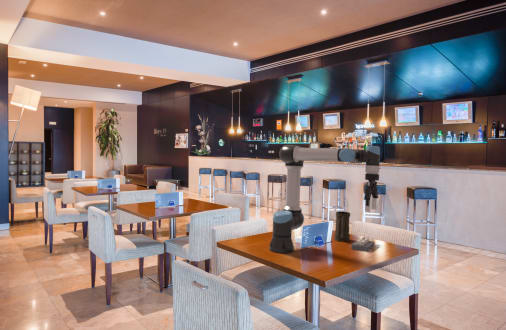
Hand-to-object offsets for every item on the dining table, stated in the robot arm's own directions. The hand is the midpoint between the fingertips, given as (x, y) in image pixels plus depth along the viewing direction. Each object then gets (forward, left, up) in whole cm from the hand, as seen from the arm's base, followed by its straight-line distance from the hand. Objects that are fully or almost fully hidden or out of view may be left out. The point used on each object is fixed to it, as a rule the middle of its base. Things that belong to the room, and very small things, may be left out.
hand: (370, 210), depth 201 cm
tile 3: (-10, +32, -25) cm, 42 cm away
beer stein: (-27, +37, -28) cm, 54 cm away
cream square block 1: (-10, +21, -25) cm, 34 cm away
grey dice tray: (-10, +26, -28) cm, 40 cm away
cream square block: (-10, +26, -25) cm, 38 cm away
